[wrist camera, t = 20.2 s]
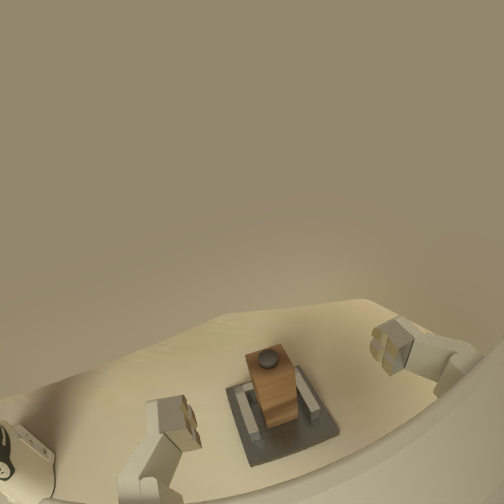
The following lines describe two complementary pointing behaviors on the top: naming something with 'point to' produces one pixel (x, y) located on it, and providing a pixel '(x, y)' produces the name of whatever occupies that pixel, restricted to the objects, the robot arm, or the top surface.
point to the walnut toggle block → (274, 384)
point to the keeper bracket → (286, 434)
